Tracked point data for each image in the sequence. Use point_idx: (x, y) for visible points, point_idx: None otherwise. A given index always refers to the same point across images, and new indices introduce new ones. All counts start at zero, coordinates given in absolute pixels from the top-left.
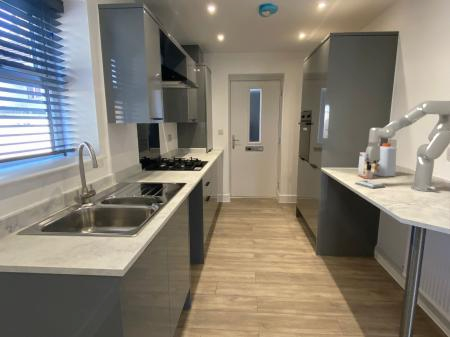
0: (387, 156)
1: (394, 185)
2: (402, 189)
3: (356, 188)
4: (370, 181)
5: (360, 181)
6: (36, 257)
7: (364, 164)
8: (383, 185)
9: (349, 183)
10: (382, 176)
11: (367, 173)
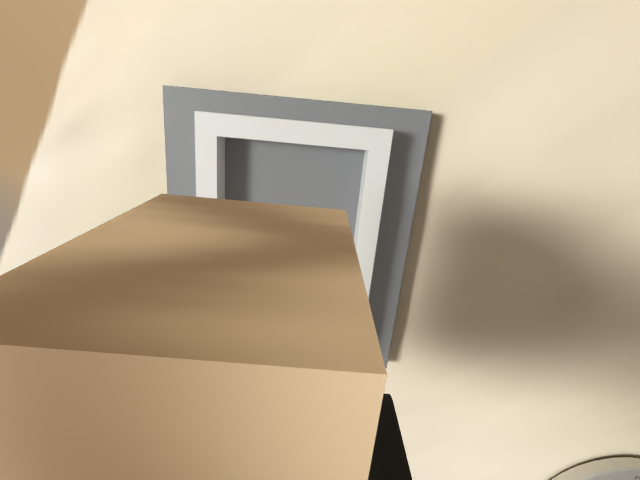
0: None
1: (565, 346)
2: (446, 460)
3: (19, 263)
4: (361, 202)
5: (195, 154)
6: None
7: (33, 274)
8: (384, 346)
9: (117, 16)
10: None
11: None
